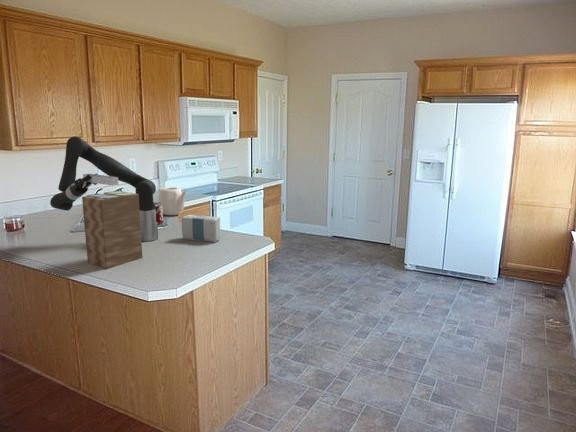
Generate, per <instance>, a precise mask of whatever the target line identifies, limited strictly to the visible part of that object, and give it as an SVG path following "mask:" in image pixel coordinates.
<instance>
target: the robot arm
mask: <svg viewBox="0 0 576 432" xmlns="http://www.w3.org/2000/svg"><path fill="white" fill-rule="evenodd" d="M64 157H65V158H64V162H63V163H64V164H63V167H62V171H61V172H62V173H61V176H60V180H59V184H58V187H57V188H58V189H57V190H59V193H56V194H54V195H52V197H51V199H50V201H49V203H50V206H51V208H54V209H56V210H57V209H58V210H61V211H70V210H71V209H72V208H73V205H74V202H76V201H77V200H78V199H80V198H82V197H83V195H85V194H86V193H87V192H88V190H89V187H91V186H92V185H94V186H97V185H98V183H91V182H87V181H88V180H90V179H91V176H90V174H91V173H87V174H88V175H87V176H86V177H83V176H82V178H81V177H80V178H78V179H76V178H77V165H78V161H79V159H80V158H82V159H83V160H85V161H88V163H91V164H92V165H93V166H94V167H96V168H97V169H98V170H100V172H102V173H104V174H106V176H112V177H118V182H122V183H126V184H128V185H130V186H131V187H133V188H134V189H135V190H134V191H135V192H134V193H135V194H139V209H140V225H141V242H153V241H156V240H158V239H159V230H158V228H159V227H158V226H159V224H158V223H157V222H156V211H155V205H156V204H155V202H154V194H155V193H156V191H157V187H156V185H155V183H154V182H153V181H152V180H150V179H149V178H146V177H144V176H141V175H140V174H137V172H135V171H133V170H131V169H130V168H129V167H127V166H126V165H124V164H123V163H121V162H120V161H118V160H117V159H116V158H113V157H111V156H109V155H107V154H105V153H102V152H100V151H98V150H96V149H95V148H94V147H92V146H91V145H90V144H89V143H87V142H86V141H85V140H84V139H83V138H82V137H80V136H71V137H69V138H68V140H67V141H66V147H65V156H64ZM95 175H99V174H98V173H95Z"/></svg>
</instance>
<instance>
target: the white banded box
mask: <svg viewBox="0 0 576 432" xmlns="http://www.w3.org/2000/svg"><path fill="white" fill-rule="evenodd" d="M216 207H217V205H215V206H213V207H211V208H208V209H205V211H204V210H203V211H202V212H200V213H198V214H187V215H184V216H182V218H181V235H182V239H184V240H190V239H191V241H192V240H193V241H201V240H203V242H211V241H216V242H217V241H219V240H220V239H221V217H219V216H210V215H209V216H208V215H202V214H204V213H206V212H208V211H210V210H212V209H213V208H216ZM218 239H219V240H218Z"/></svg>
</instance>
